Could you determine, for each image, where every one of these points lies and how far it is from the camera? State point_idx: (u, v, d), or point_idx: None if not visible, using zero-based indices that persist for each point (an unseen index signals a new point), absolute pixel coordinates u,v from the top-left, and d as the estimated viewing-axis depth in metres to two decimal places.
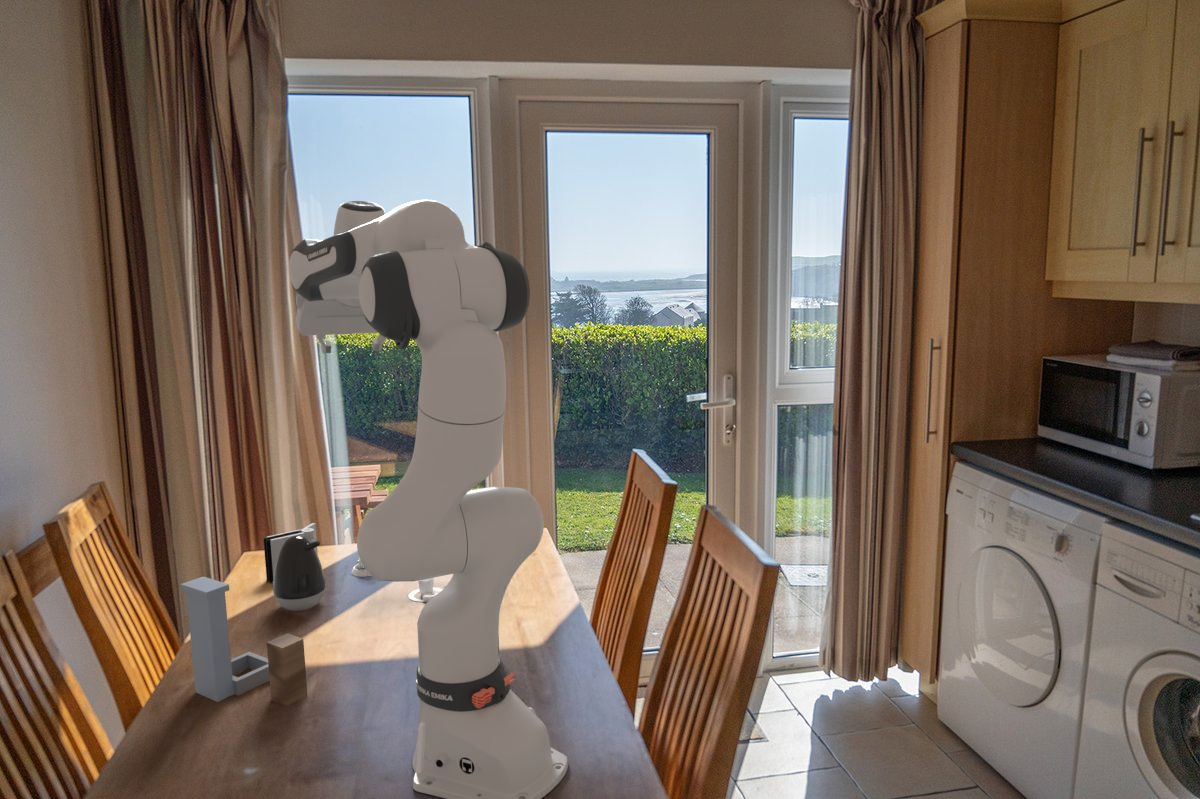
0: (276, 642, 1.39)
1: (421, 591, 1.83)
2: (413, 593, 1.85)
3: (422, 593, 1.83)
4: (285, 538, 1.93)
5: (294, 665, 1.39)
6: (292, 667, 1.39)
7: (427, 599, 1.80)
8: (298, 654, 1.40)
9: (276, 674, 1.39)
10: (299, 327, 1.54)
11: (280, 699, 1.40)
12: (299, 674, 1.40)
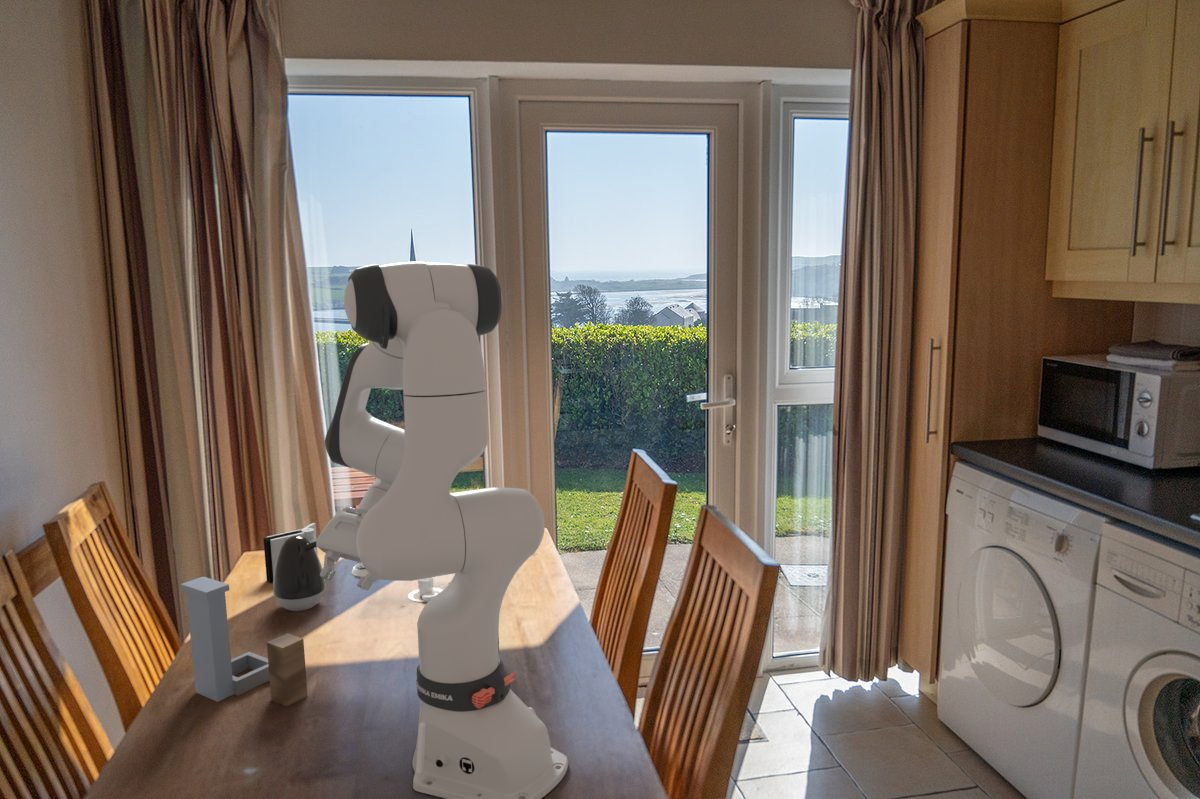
0: (276, 642, 1.39)
1: (421, 591, 1.83)
2: (413, 593, 1.85)
3: (422, 594, 1.83)
4: (285, 538, 1.93)
5: (294, 665, 1.39)
6: (292, 667, 1.39)
7: (426, 599, 1.79)
8: (298, 654, 1.40)
9: (276, 674, 1.39)
10: None
11: (280, 699, 1.40)
12: (299, 674, 1.40)
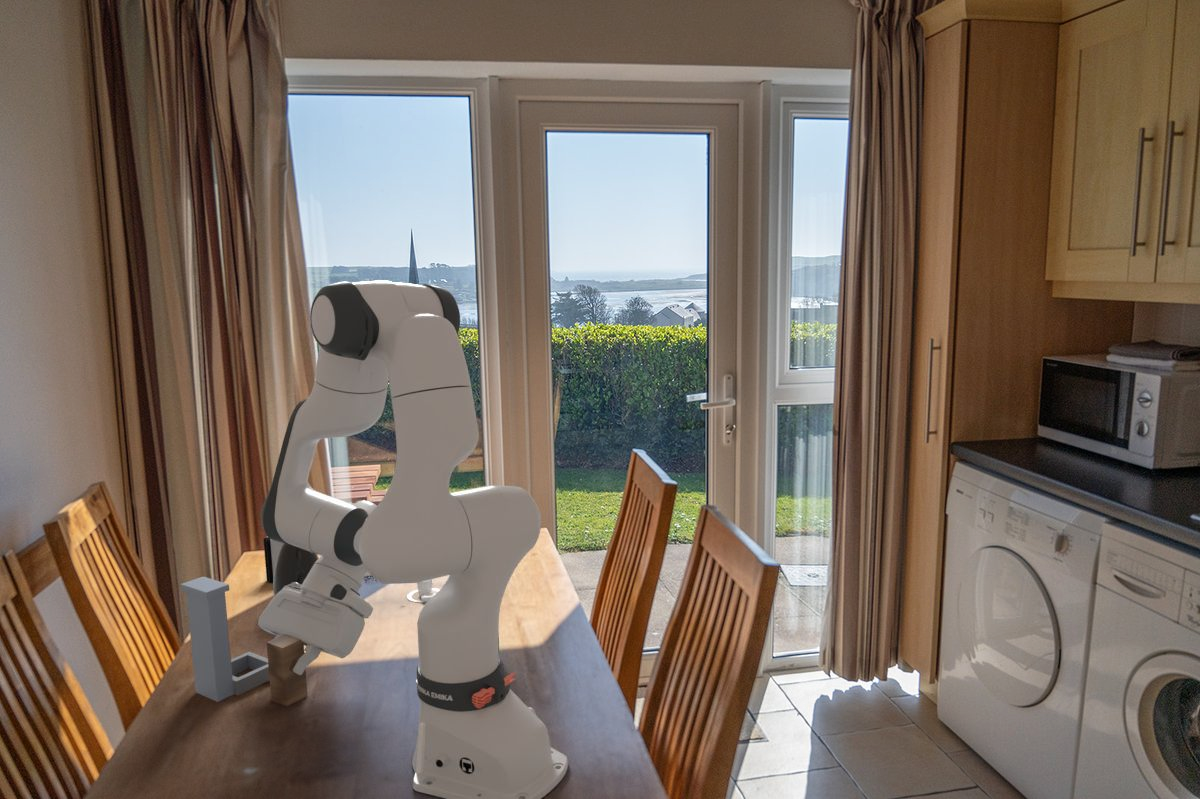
0: (276, 642, 1.39)
1: (420, 592, 1.83)
2: (412, 594, 1.85)
3: (421, 594, 1.83)
4: None
5: None
6: None
7: (425, 600, 1.79)
8: (298, 654, 1.40)
9: (276, 674, 1.39)
10: (261, 615, 1.47)
11: (280, 699, 1.40)
12: None
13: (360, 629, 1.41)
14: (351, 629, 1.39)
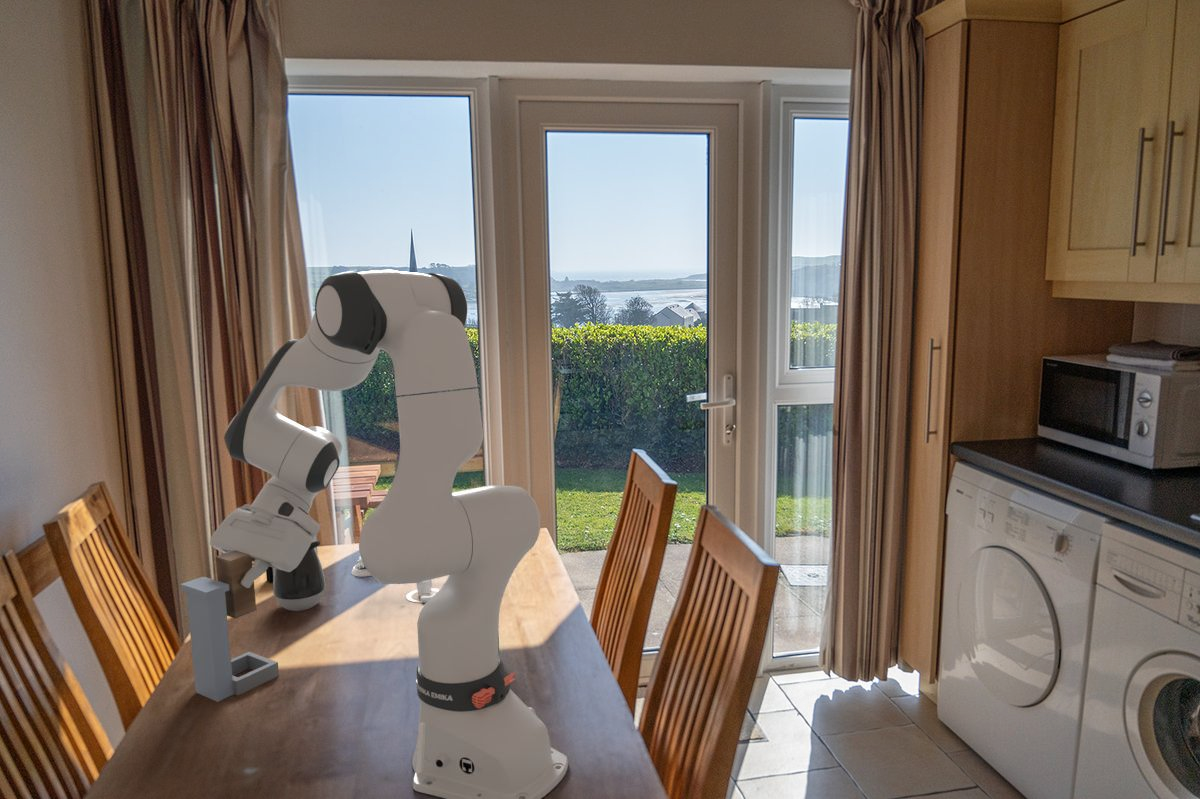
0: (225, 556, 1.44)
1: (419, 592, 1.83)
2: (411, 594, 1.85)
3: (420, 594, 1.83)
4: None
5: None
6: None
7: (425, 600, 1.79)
8: (246, 569, 1.45)
9: None
10: (213, 534, 1.52)
11: (229, 611, 1.44)
12: (247, 588, 1.45)
13: (307, 545, 1.45)
14: (297, 544, 1.43)
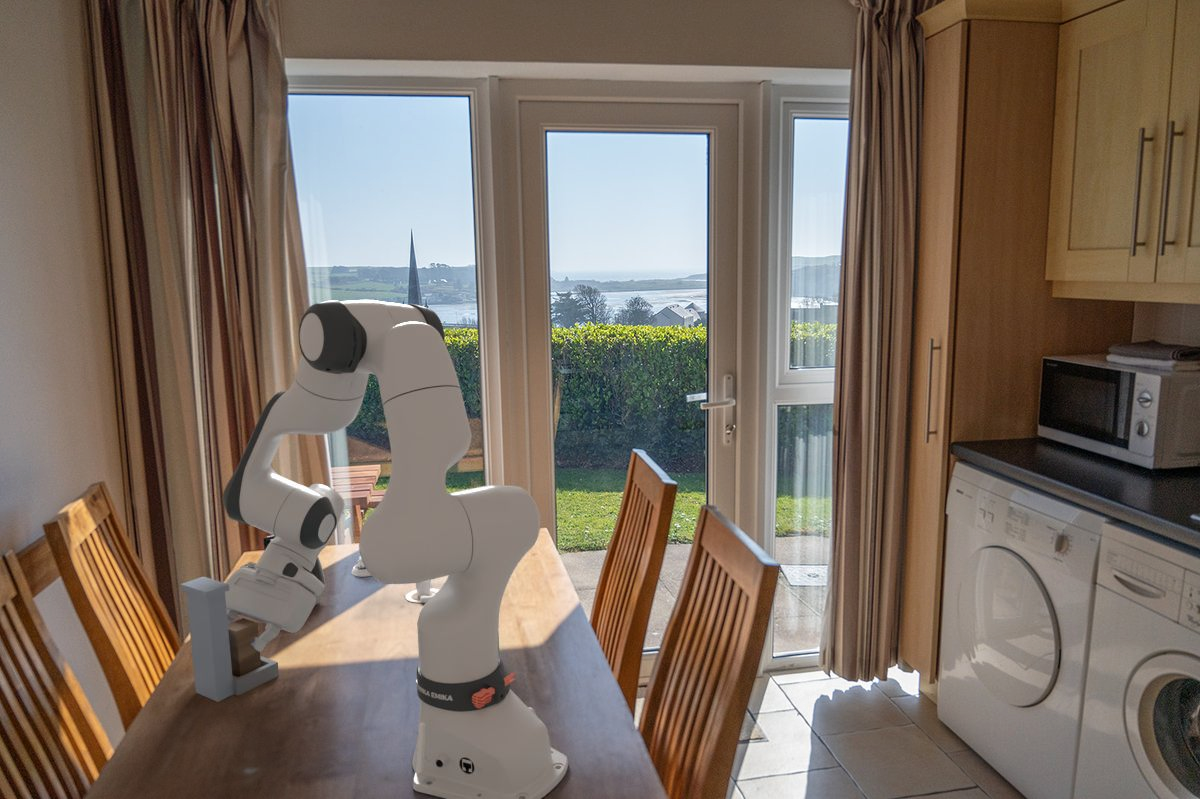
0: (231, 626, 1.46)
1: (418, 592, 1.83)
2: (410, 594, 1.85)
3: (419, 594, 1.83)
4: None
5: (248, 648, 1.46)
6: (246, 649, 1.46)
7: (424, 600, 1.79)
8: (252, 638, 1.46)
9: (231, 657, 1.46)
10: None
11: None
12: (253, 657, 1.47)
13: (311, 605, 1.47)
14: (301, 605, 1.45)
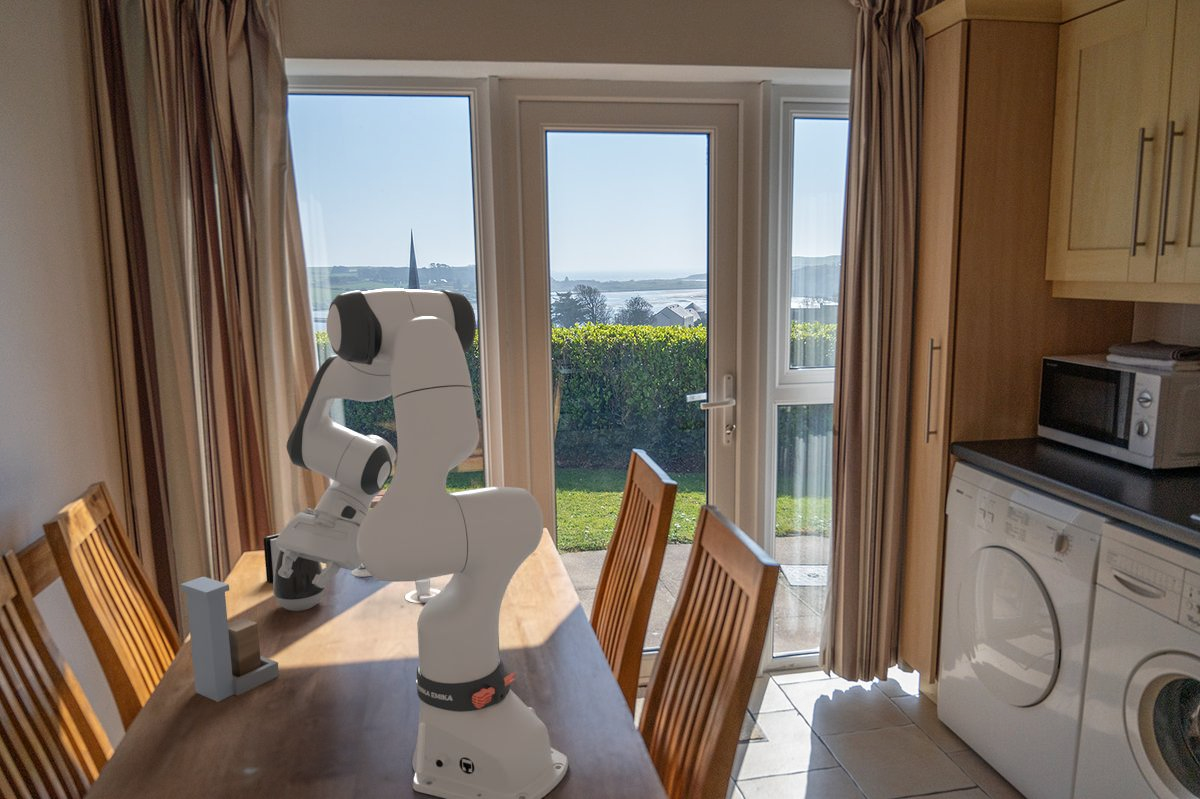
0: (231, 626, 1.46)
1: (418, 592, 1.82)
2: (410, 594, 1.84)
3: (419, 594, 1.82)
4: None
5: (248, 648, 1.46)
6: (246, 650, 1.46)
7: (424, 600, 1.79)
8: (252, 638, 1.46)
9: (231, 657, 1.46)
10: None
11: None
12: (253, 657, 1.47)
13: None
14: None
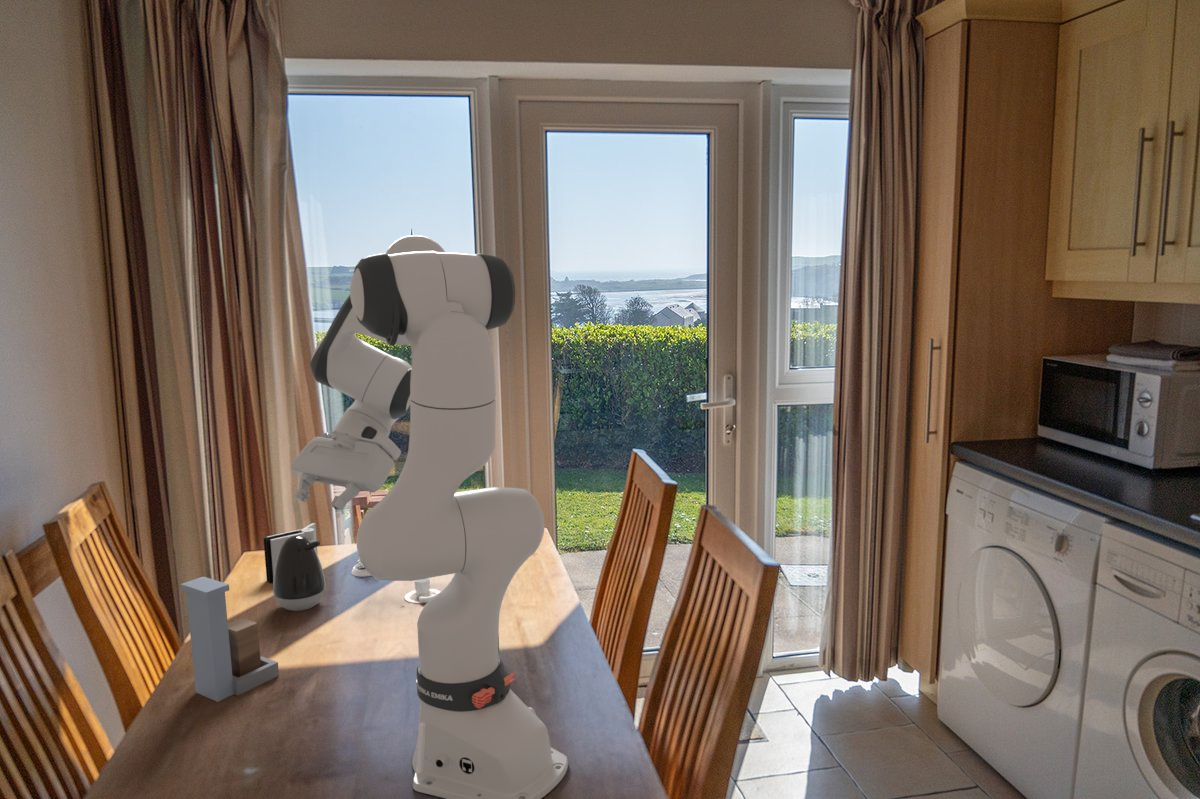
0: (231, 626, 1.46)
1: (417, 592, 1.82)
2: (409, 594, 1.84)
3: (418, 595, 1.82)
4: (285, 538, 1.93)
5: (248, 648, 1.46)
6: (246, 649, 1.46)
7: (423, 600, 1.79)
8: (252, 638, 1.46)
9: (231, 657, 1.46)
10: None
11: None
12: (253, 657, 1.47)
13: (389, 467, 1.49)
14: (381, 465, 1.47)
